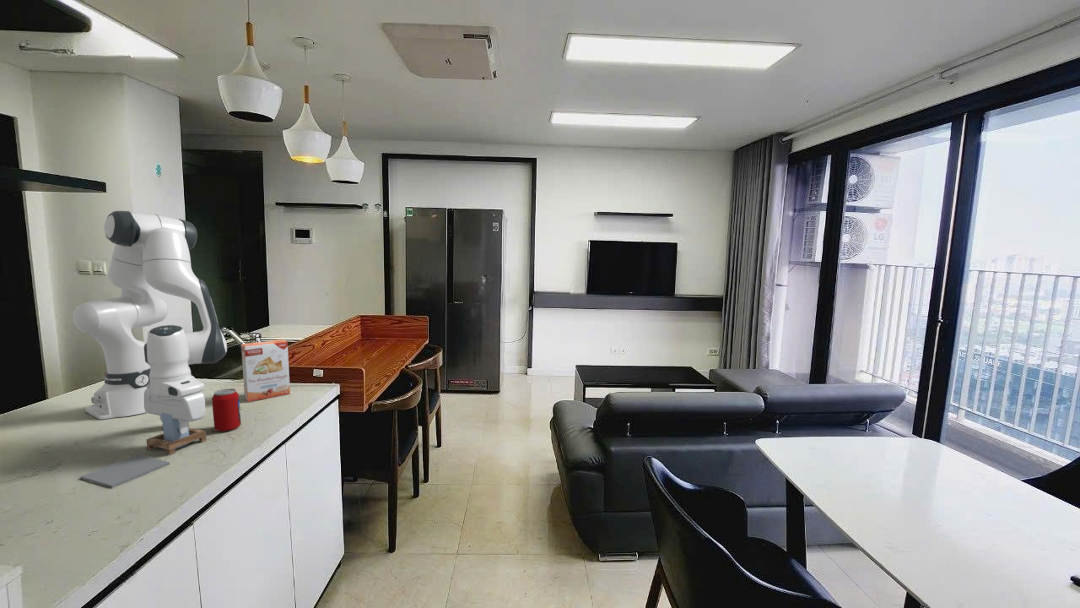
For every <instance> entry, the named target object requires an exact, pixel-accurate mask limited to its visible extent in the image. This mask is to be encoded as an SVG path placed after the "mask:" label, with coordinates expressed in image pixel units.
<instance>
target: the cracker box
mask: <svg viewBox="0 0 1080 608" xmlns="http://www.w3.org/2000/svg"><path fill="white" fill-rule="evenodd" d="M288 345H289V344H288V341H286V340H285V339H275V340H267V341H258V342H251V343H249V342H248V343H242V344H241V346H240V347H241V360H242V361H241V362H242V372H243V373H242V378H243V390H244V399H245V400H246V401H247V402H249V403H251V402H254V401H259V400H265V399H269V398H276V397H280V396H285V395H290V394H291V389H290V388H291V387H290V385H291V384H290V367H289V350H288V349H289V346H288Z"/></svg>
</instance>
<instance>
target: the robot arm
mask: <svg viewBox="0 0 1080 608" xmlns="http://www.w3.org/2000/svg"><path fill="white" fill-rule="evenodd" d="M103 225H104V226H103V230H104V233H105V237H106V239H107V240H109V242H111V243H112V244H115V245H114V247H113V252H112V255H111V256H112V257H111V261H110V266H109V270H108V273H107V278H108V279H109V282H111V284H112V285H114V286H116V287H117V288H119V289H121V294H120V296H119V297H112V298H110V297H109V298H102V299H101V298H100V299H96V300H92V301H88V302H83V303H81V304H79V305H78V306H76V307H75V309H74V310H73V313H72V323H73V324H74V326H75V327H76V328H77V329H78V331H81V332H82V333H85V334H87V335H90V336H91V337H92V338H93V339H94V340H95V341H96V342H97V343H98V344H99V345H100V347H101V349H102V351H103V355H104V360H105V365H106V372H104V373H103V374H104V382H103V383H104V384H103V385H102V386H101V387H99V389H98V390H96V391H95V392H94V393H93V396H92V397H91V399H90V400H91V403H92V404H93V405H89V406H87V407H85V408H84V412H85V413H87V414H89V415H91V416H93V417H94V418H96V419H98V420H106V419H112V418H120V417H121V418H123V417H129V416H130V417H131V416H135V415H141V414H144V413H147V414H151V415H155V416H159V419H160V421H161V422H162V415H161V413H165V414H170V415H172V418H174V419H178V422H179V423H180V425H179V427H177V430H178V431H177V432H178V433H180V434H183V433H186V432H187V431H188V428H189V427H188V428H187V426H188V424H189V422H191V423H194V422H196V421H199V420H202V419H203V418H204V417H206V411H207V410H206V400H205V399H206V397H205V395H204V393H203V391H205V385H204V384H205V383H203V382H202V381H200V380H199V379H198V378H195V376H193V375H192V370H191V367H190V366H189V365H194V364H195V365H197V364H205V365H206V364H216V363H218V362H219V361H220V360H222V359H224V357H225V356H226V355H227V352H228V345H227V341H226V338H225V336H224V334H223V332H222V330H221V327H220V325H219V321H218V317H217V314H216V310H215V306H214V303H213V300H212V297H211V295H210V292H209V289H208V285H207V284H206V283H205V281H204V280H202V279H200V278H198V277H197V276H196V275H195V273H194V272H193V269H192V261H191V259H192V258H191V255H190V250H192V249H193V248H194V247H195V246H196V244H197V240H198V231H197V228H196V227H195V225H194V224H193V223H192V222H190V221H187V220H184V219H181V218H180V219H177V218H174V217H170V216H165V215H160V214H150V213H143V212H132V211H129V210H115V211H112V212H111V213H109V214H108V215H107V217H106V219H105V221H104V224H103ZM156 291H159V292H161V293H164V294H167V295H170V296H174V297H178V298H182V299H185V300H189V301H190V302H192V303H193V304H194V305H196V307H197V310H198V313H199V314H198V315H199V317H200V320H201V323H202V324H201V325H202V326H203V327H202V330H199V331H190V332H188V331H187V332H185V330H184V327H182V326H180V325H175V324H174V325H173V324H167V325H160V326H156V327H154V328H151V329H150V330H148V332H147V339H146V342H145V341H143V340H140V339H136V338H135V336H134V335H133V333H132V329H138V328H145V327H149V326H152V325H155V324H158V323H159V322H163V321H164V320H165V319H166V318H167V316H168V309H169V308H168V305H167V303H166V302H165V301H164V299H162V298H161V297H160V296H159V295H158V294H157V293H156Z"/></svg>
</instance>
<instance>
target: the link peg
mask: <svg viewBox="0 0 1080 608" xmlns="http://www.w3.org/2000/svg"><path fill="white" fill-rule="evenodd" d="M161 415H162V421H161V424H162V432H163V433H162V434H164V441H168V442H173V441H176V440H178V439H181V438H184V437H186V436H189V428H190V427H188V426H187V428H188V431H187V432H186V433H183V434H180V433H178V432H177V431H178V430H177V427H179V425H180V423H179V422H178V419H174V418H172V415H170V414H165V413H161ZM189 444H191V442H189V443H186V444H184V445H181V446H179V447H176V448H175V450H178V449H180V448H182V447H184V446H187V445H189Z"/></svg>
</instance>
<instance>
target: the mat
mask: <svg viewBox="0 0 1080 608" xmlns="http://www.w3.org/2000/svg"><path fill="white" fill-rule="evenodd" d="M168 465H170V461H167V460H163V459H159V458H154V457H151V456H148V455H143V454H136V455H134V456H132V457H129V458H126V459H123V460H121V461H117V462H116V463H113V464H110V465H107V466H105V467H102V468H99V469H96V470H93V471H91V472H89V473H85V474H84V475H83V474H82V475H81V476H80V479H81V480H84V481H88V482H90V483H94V484H98V485H101V486H104V487H108V488H111V489H113V488H115V487H117V486H120V485H123V484H125V483H127V482H129V481H130V482H131V481H132V480H135V479H137V478H140V477H142V476H145V475H146V474H150V473H151V472H154V471H157V470H159V469H161V468H164V467H167V466H168Z"/></svg>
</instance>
